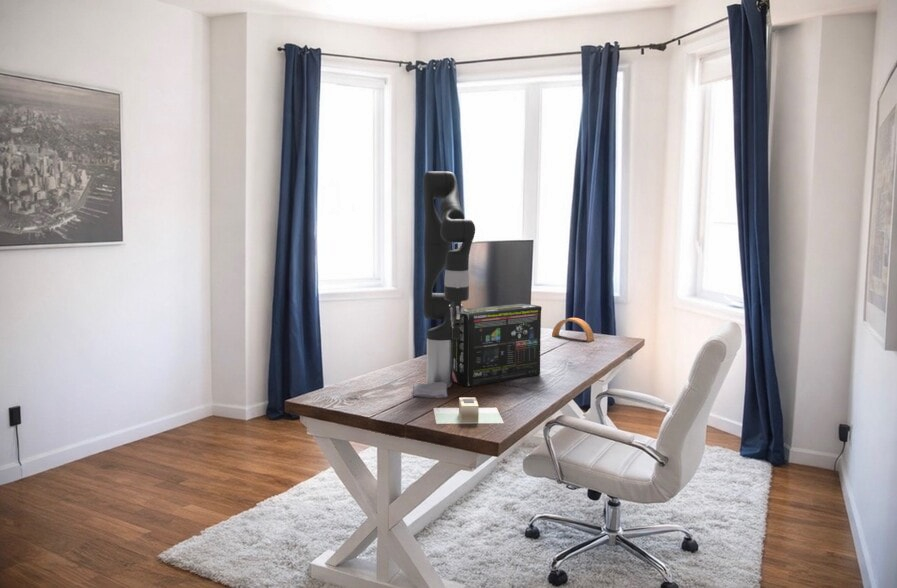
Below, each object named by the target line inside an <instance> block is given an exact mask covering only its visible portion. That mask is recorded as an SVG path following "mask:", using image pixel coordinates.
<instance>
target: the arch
mask: <svg viewBox="0 0 897 588" xmlns="http://www.w3.org/2000/svg"><path fill="white" fill-rule="evenodd" d="M568 322H573V323H576V324H578V325H579V326H580V327H581V328H582V330H583V331H584V333H585V336H586V342H587V343H588V342H593V341H595V338H594V333H593V329H592V328H591V326H590V325H589V323H588V322H586V321H585V320H583V319H581V318H578V317H569V318H565V319H562V320H560V321H558V323H556V324H555V326H554V328H553V330H552V334H551V337H552V338H554V337H555V338H556V337H558V336H560V331H561V329H562V327H563V325H565V324H566V323H568Z"/></svg>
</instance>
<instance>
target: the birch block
mask: <svg viewBox="0 0 897 588" xmlns="http://www.w3.org/2000/svg"><path fill="white" fill-rule="evenodd" d="M458 408H459V416H460V419H461V422H478V416H479V408H480V407H479V403H478V400H477V398H476V397H459V398H458Z"/></svg>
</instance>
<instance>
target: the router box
mask: <svg viewBox="0 0 897 588" xmlns="http://www.w3.org/2000/svg"><path fill="white" fill-rule="evenodd" d="M542 308H543V307H542V306H540V305H535V304H529V303H524V302H523V303H513V304H512V303H511V304H503V305H493V306H481V307H473V308H472V307H471V308H470V307H469V308H463V313H462V315H463V316H462V323H461V327H460V339H459V340H453V363H452V382H453V381H454V383H455V382H456V384H457V383H458V385H460V386H463V387H468V386H472V387H476V385H477V386H482V384H483V385H487V384H488V383H489V384H494V382H495V383H501V382H505V381H511V380H516V379H523V378H529V377H534V376H540V375H541V334H542V333H541V331H542V330H541V329H542V323H541V322H542Z"/></svg>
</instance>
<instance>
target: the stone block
mask: <svg viewBox="0 0 897 588" xmlns="http://www.w3.org/2000/svg"><path fill="white" fill-rule="evenodd" d="M412 393H413V397H418V398H428V399H429V398H431V399H442V398H447V397H448V388H447V384H446V383H443V382H436V383H431V384H426V383H421V382H416V383H415V384H413V386H412Z"/></svg>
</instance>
